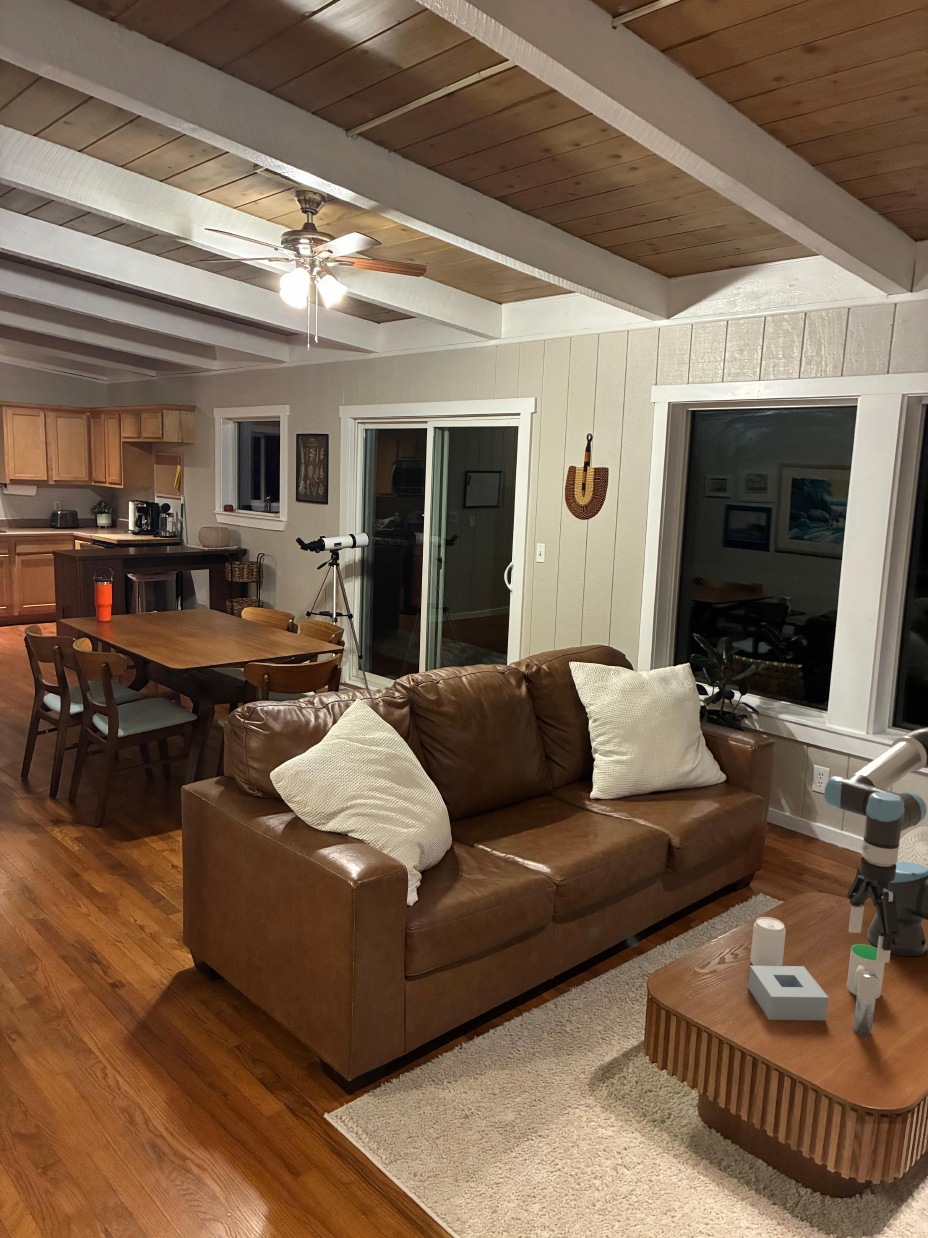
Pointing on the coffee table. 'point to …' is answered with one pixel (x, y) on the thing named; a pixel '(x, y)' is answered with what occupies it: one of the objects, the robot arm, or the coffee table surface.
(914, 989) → the coffee table surface
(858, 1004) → the peg
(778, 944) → the beverage can
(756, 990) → the socket block
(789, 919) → the coffee table surface
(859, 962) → the mug
